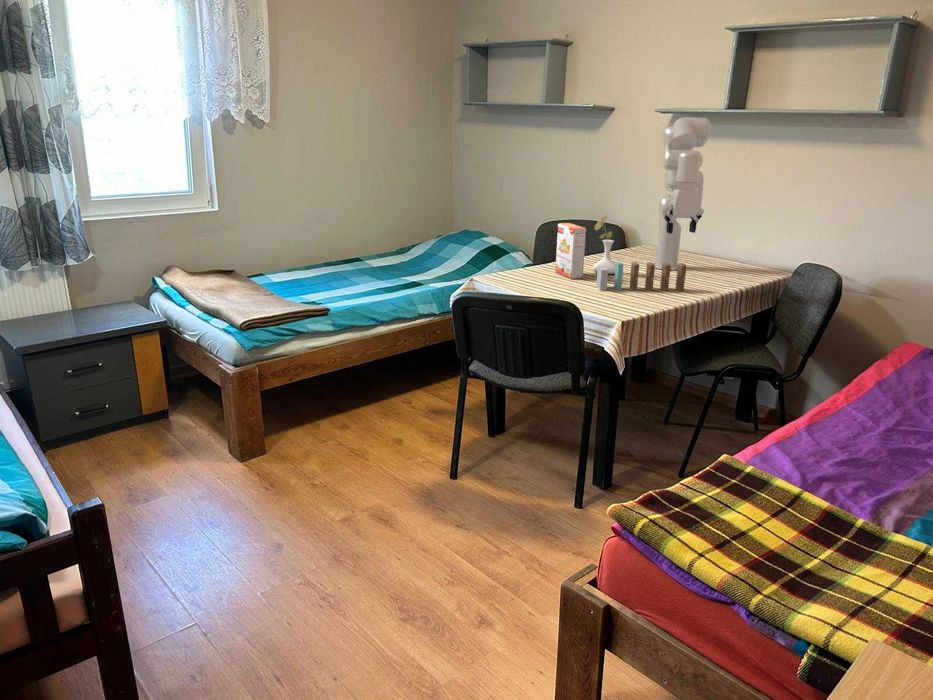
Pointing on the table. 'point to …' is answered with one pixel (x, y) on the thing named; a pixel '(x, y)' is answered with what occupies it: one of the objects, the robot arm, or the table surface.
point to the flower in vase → (607, 244)
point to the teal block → (618, 275)
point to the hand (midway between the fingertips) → (680, 232)
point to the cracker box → (570, 250)
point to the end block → (602, 277)
